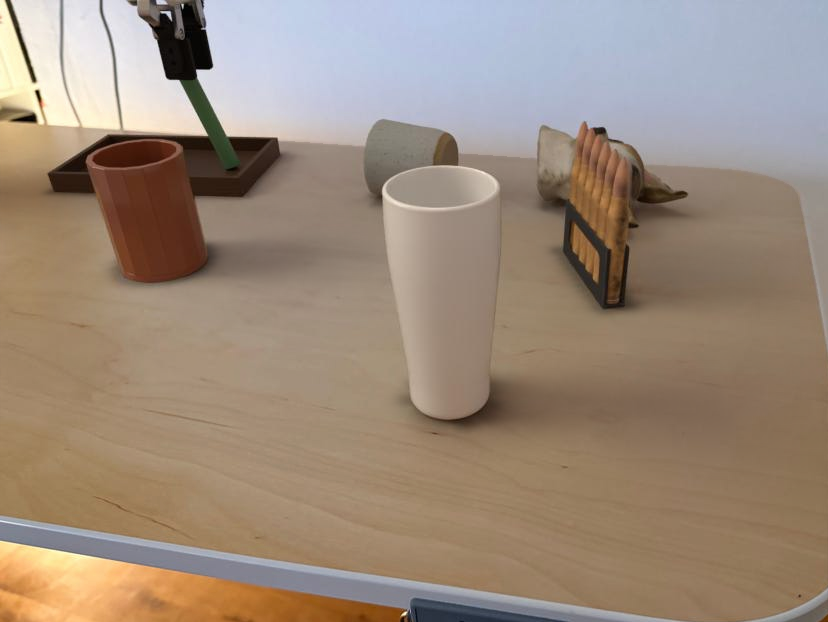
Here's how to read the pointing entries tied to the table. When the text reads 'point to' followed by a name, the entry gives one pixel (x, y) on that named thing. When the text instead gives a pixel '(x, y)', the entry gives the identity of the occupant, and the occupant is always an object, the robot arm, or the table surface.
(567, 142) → the ceramic sculpture
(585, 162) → the ammunition clip
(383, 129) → the ceramic mug
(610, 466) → the table surface
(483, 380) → the drinking glass
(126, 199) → the tumbler
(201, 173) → the tray
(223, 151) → the straw
